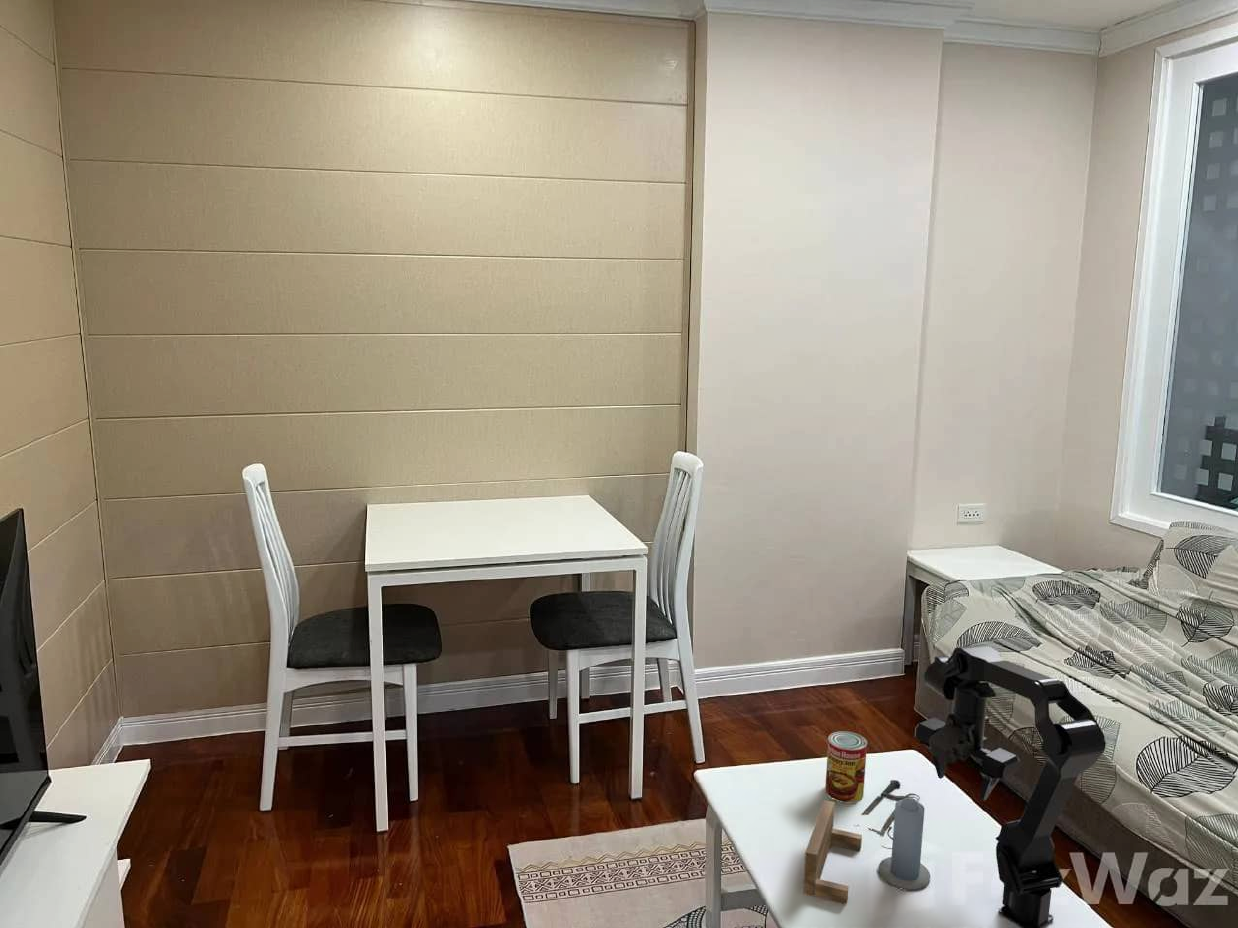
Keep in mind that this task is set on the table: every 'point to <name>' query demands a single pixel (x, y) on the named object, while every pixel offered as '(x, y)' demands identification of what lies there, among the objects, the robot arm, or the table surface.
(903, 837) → the pepper mill
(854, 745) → the canned food
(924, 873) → the coaster
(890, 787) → the hacksaw
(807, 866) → the walnut bench
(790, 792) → the table surface
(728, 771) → the table surface
